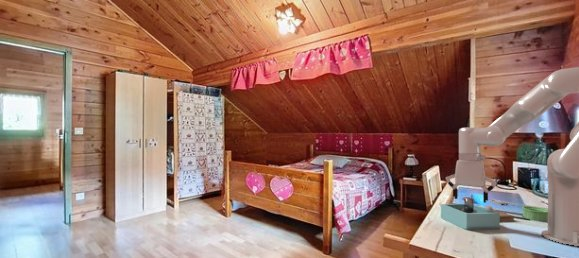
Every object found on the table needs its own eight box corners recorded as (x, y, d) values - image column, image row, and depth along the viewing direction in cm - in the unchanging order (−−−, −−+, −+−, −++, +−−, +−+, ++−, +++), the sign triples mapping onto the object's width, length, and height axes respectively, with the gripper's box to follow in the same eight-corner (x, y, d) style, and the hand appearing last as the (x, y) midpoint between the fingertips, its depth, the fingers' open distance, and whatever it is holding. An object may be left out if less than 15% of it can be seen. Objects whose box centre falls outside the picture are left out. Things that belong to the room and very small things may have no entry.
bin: (499, 228, 104) (499, 213, 104) (466, 230, 102) (466, 214, 102) (470, 217, 118) (470, 203, 118) (440, 218, 116) (440, 204, 116)
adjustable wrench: (554, 212, 129) (554, 208, 129) (554, 215, 125) (554, 211, 125) (490, 201, 147) (490, 198, 147) (487, 203, 143) (487, 200, 143)
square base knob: (476, 220, 110) (476, 197, 110) (475, 223, 106) (476, 200, 106) (462, 217, 113) (462, 195, 113) (460, 221, 109) (461, 198, 109)
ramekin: (517, 216, 120) (517, 207, 120) (529, 214, 123) (529, 205, 123) (542, 223, 112) (543, 212, 112) (554, 221, 115) (554, 210, 115)
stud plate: (513, 220, 114) (513, 209, 114) (488, 221, 112) (488, 210, 112) (489, 212, 126) (489, 202, 126) (465, 212, 124) (465, 202, 124)
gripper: (496, 158, 108) (496, 201, 107) (446, 156, 118) (446, 195, 118) (496, 159, 102) (497, 205, 101) (444, 157, 112) (444, 198, 112)
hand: (470, 200), depth 110 cm, fingers open, 9 cm apart
